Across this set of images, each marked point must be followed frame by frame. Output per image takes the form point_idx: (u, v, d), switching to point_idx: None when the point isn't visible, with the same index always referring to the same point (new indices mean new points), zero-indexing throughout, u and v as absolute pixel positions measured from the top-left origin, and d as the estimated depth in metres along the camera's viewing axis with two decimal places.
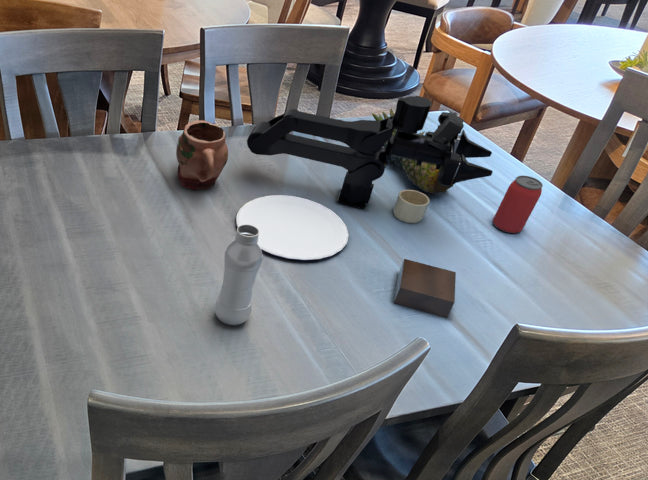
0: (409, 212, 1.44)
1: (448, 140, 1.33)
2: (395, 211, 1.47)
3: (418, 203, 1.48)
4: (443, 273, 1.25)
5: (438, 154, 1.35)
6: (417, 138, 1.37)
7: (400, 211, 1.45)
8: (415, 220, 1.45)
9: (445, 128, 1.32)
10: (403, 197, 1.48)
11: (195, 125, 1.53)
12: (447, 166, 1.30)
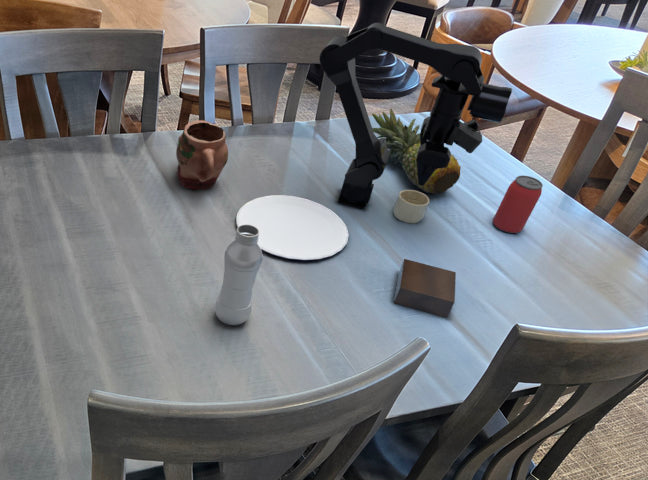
0: (409, 212, 1.44)
1: (457, 143, 1.32)
2: (395, 211, 1.47)
3: (418, 203, 1.48)
4: (443, 273, 1.25)
5: (443, 135, 1.32)
6: (460, 113, 1.29)
7: (400, 211, 1.45)
8: (415, 220, 1.45)
9: (472, 139, 1.30)
10: (403, 197, 1.48)
11: (195, 125, 1.53)
12: (442, 158, 1.28)
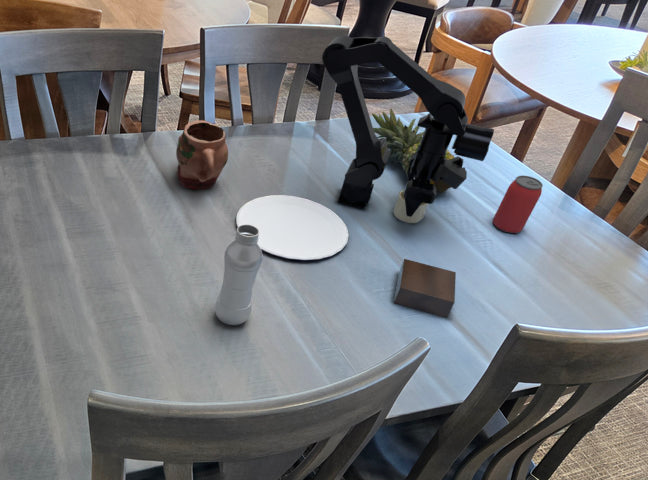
0: None
1: (443, 179, 1.38)
2: (395, 211, 1.47)
3: None
4: (443, 273, 1.25)
5: (429, 172, 1.38)
6: (445, 151, 1.35)
7: (400, 211, 1.45)
8: (415, 220, 1.45)
9: (457, 176, 1.36)
10: (403, 197, 1.48)
11: (195, 125, 1.53)
12: (428, 195, 1.34)
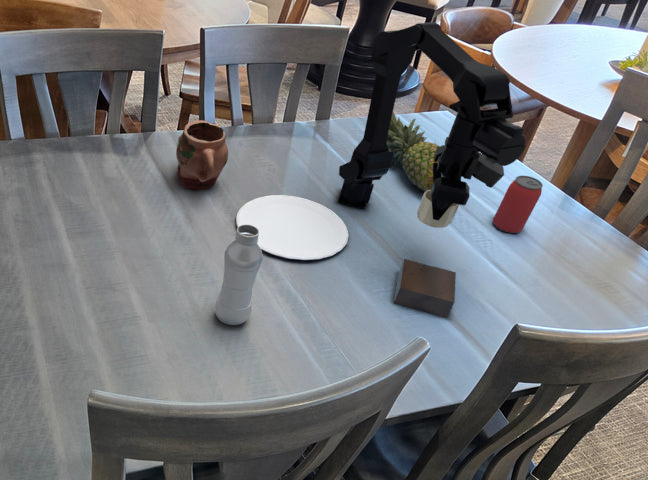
0: None
1: (476, 176, 1.18)
2: (419, 214, 1.27)
3: None
4: (443, 273, 1.25)
5: (460, 168, 1.18)
6: (469, 144, 1.15)
7: (426, 214, 1.26)
8: (443, 224, 1.25)
9: (493, 172, 1.16)
10: (428, 198, 1.29)
11: (195, 125, 1.53)
12: (461, 195, 1.14)
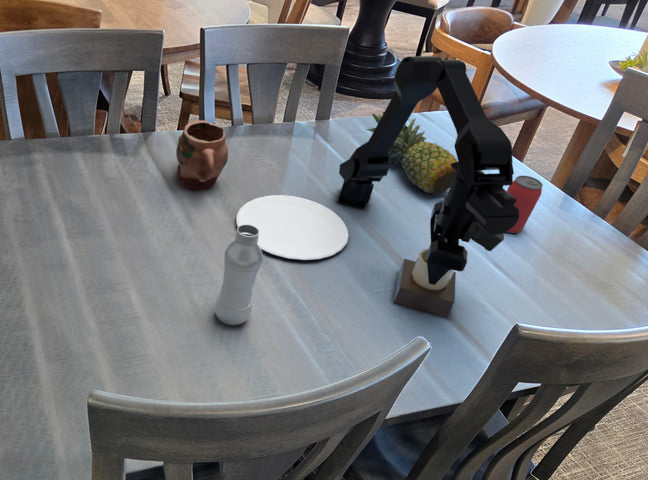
0: None
1: (475, 239, 1.12)
2: (414, 275, 1.22)
3: None
4: None
5: (457, 231, 1.12)
6: (465, 207, 1.09)
7: (421, 276, 1.21)
8: (439, 287, 1.20)
9: (493, 236, 1.11)
10: (424, 257, 1.23)
11: (195, 125, 1.53)
12: (458, 261, 1.09)
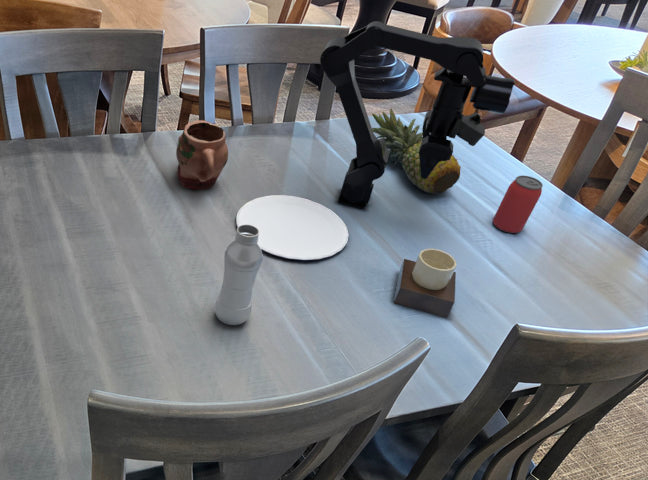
0: (431, 278, 1.19)
1: (460, 135, 1.32)
2: (414, 275, 1.22)
3: (442, 265, 1.23)
4: None
5: (445, 128, 1.32)
6: (463, 105, 1.29)
7: (421, 276, 1.21)
8: (439, 287, 1.20)
9: (475, 132, 1.30)
10: (424, 257, 1.23)
11: (195, 125, 1.53)
12: (445, 151, 1.28)
